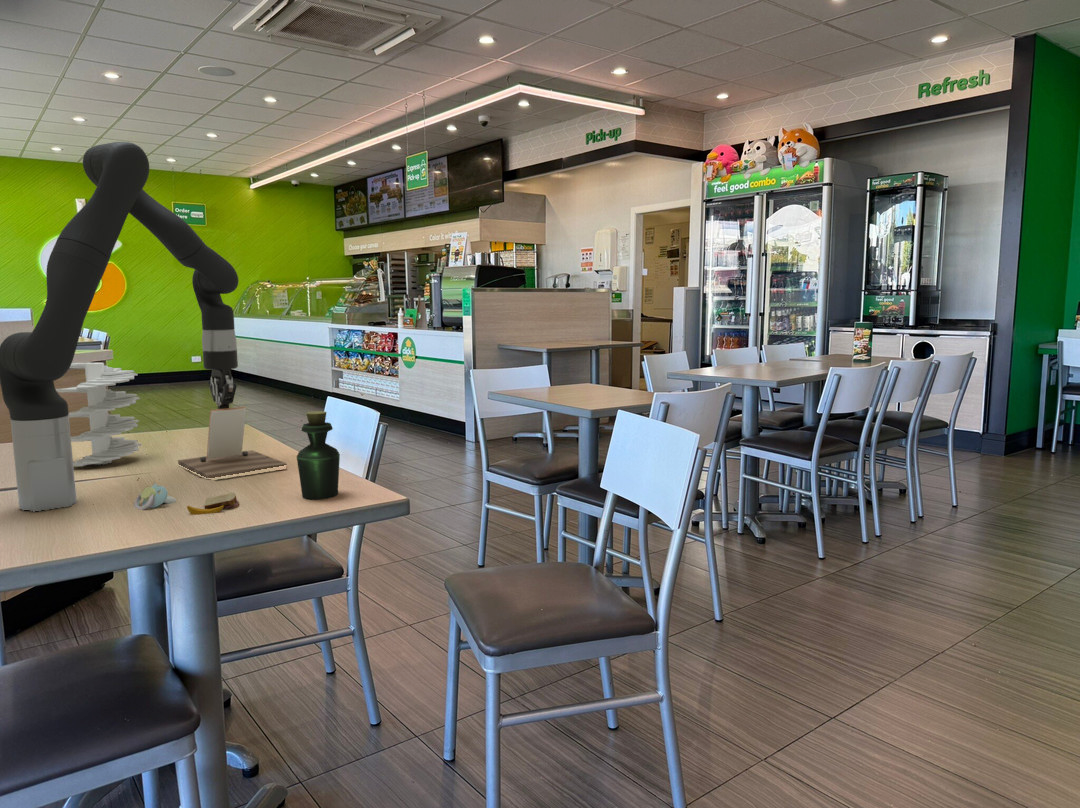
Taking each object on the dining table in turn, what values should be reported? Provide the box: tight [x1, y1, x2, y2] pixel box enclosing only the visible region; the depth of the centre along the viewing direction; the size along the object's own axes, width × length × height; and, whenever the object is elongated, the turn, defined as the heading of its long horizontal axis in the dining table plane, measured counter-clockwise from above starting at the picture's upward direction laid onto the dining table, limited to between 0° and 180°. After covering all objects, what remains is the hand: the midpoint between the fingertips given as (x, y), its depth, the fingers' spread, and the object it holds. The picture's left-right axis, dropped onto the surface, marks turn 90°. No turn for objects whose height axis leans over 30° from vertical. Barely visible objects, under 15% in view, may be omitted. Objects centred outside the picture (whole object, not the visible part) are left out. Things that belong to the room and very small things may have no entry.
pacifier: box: [133, 483, 177, 511], centre depth 141 cm, size 7×6×6 cm
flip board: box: [177, 450, 288, 478], centre depth 177 cm, size 22×18×3 cm
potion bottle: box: [296, 410, 341, 501], centre depth 145 cm, size 8×8×18 cm
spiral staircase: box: [55, 362, 142, 467], centre depth 182 cm, size 18×18×25 cm
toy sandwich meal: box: [186, 492, 240, 516], centre depth 137 cm, size 9×10×4 cm
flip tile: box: [206, 406, 247, 459], centre depth 178 cm, size 13×8×1 cm
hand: (224, 420), depth 178 cm, fingers closed
